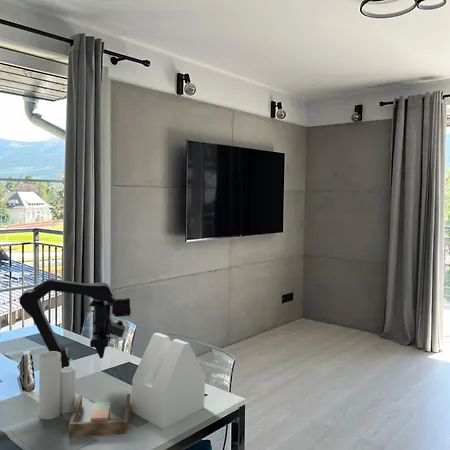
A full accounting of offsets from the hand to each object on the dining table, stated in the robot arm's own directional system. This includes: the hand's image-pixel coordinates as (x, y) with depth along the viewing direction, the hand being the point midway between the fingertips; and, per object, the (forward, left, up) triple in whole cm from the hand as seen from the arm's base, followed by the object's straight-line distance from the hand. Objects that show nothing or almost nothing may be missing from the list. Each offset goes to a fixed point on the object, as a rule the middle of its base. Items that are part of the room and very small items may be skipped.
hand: (101, 357), depth 167 cm
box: (+3, -25, -11) cm, 27 cm away
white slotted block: (+25, -21, -11) cm, 34 cm away
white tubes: (-12, -19, -11) cm, 25 cm away
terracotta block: (+3, -31, -11) cm, 33 cm away
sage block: (+3, -26, -11) cm, 29 cm away
